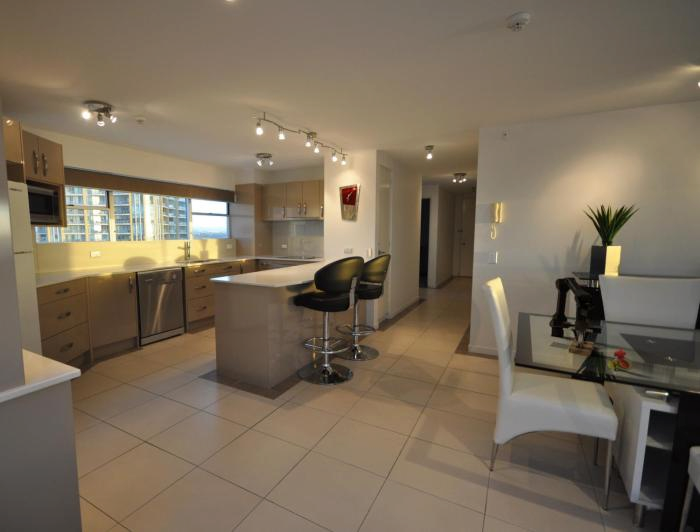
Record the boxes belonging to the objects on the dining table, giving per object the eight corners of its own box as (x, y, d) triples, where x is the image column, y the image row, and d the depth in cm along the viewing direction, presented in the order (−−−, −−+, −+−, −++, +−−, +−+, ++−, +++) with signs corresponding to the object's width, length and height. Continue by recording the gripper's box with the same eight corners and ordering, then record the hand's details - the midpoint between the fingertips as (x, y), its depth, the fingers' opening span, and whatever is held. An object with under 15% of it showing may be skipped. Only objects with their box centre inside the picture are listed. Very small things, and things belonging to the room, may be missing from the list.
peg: (576, 347, 194) (577, 330, 193) (577, 345, 196) (578, 329, 195) (583, 348, 192) (584, 331, 191) (583, 346, 194) (584, 330, 193)
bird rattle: (627, 374, 170) (607, 362, 176) (640, 357, 165) (619, 345, 171) (624, 377, 166) (604, 365, 172) (637, 360, 161) (616, 348, 167)
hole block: (568, 352, 194) (568, 347, 194) (574, 343, 209) (574, 339, 208) (589, 356, 187) (589, 351, 187) (593, 347, 202) (594, 342, 202)
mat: (549, 346, 205) (549, 346, 205) (553, 342, 212) (553, 341, 212) (566, 349, 199) (567, 349, 199) (569, 345, 206) (570, 344, 206)
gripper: (560, 315, 192) (559, 341, 194) (601, 321, 180) (599, 349, 182) (564, 311, 201) (562, 337, 202) (603, 316, 188) (601, 343, 190)
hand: (580, 341), depth 194 cm, fingers closed on peg, 3 cm apart
